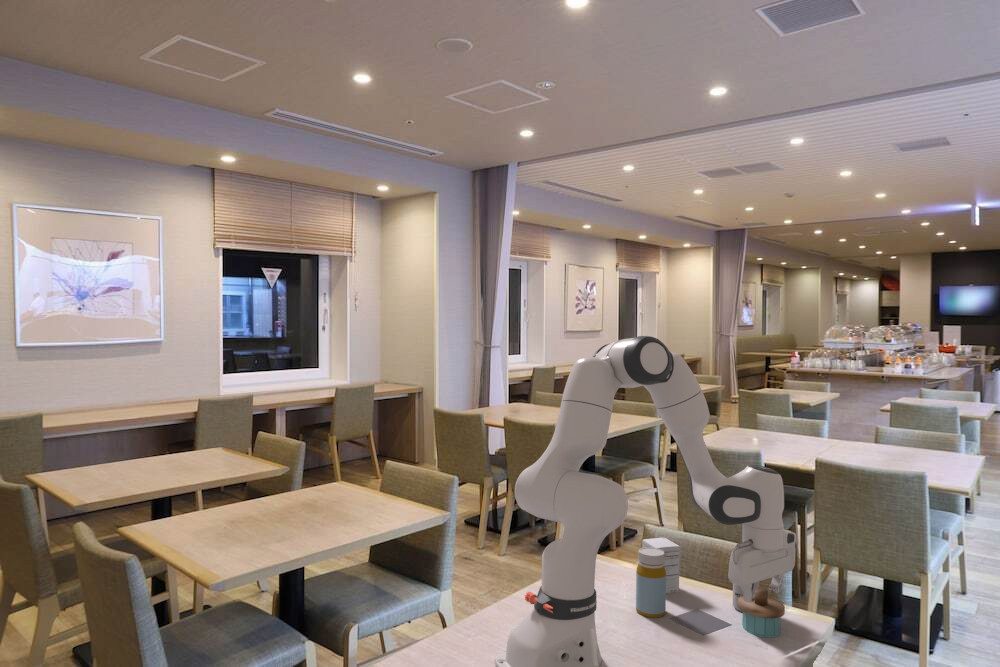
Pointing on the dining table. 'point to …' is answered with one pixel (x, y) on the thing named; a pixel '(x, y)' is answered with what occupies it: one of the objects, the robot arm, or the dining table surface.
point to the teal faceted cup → (761, 625)
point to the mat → (700, 621)
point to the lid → (762, 605)
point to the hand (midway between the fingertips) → (761, 596)
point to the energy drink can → (741, 593)
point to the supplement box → (667, 560)
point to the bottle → (651, 583)
